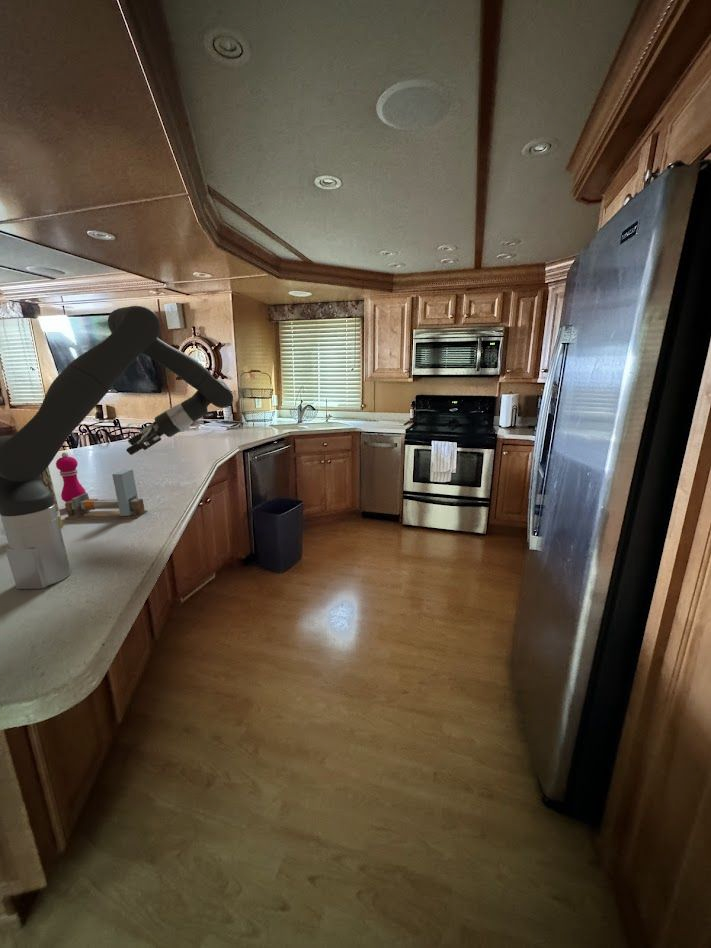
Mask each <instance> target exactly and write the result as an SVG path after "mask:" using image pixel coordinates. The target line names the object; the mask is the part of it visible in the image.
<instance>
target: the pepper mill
mask: <svg viewBox="0 0 711 948" xmlns="http://www.w3.org/2000/svg"><path fill="white" fill-rule="evenodd" d="M55 466H56V468H57V469H58V470H59V475H60V476H61V477H62V480H63V485H62V486H63V487H62V490H61V494H60V497H61V500H62V501H64V502H65V503H66V502H68V501H71V500H72V499H73V498H75V497H77V496H80V495H82V494H84V493H87V490H86V489H85V487H84V486H82V485H83V484H81V483H80V482H79V479H78V475H77V474H78V473H79V472H78V469H77V467H78V460H77V459H76V458H74V457H73V456H69V454H68V453H67V452H62V453H61V457H59V458H58V459H57V460H56V463H55ZM65 503H64V506H65V510H67V508H66V504H65Z"/></svg>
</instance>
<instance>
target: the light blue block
mask: <svg viewBox="0 0 711 948" xmlns="http://www.w3.org/2000/svg"><path fill="white" fill-rule="evenodd" d="M111 475H112V480H113V481H112V482H113V486H114V490H115V494H116V499H117V501H118V506H119V509H118V511H120V516H130V515H132V514H133V513H135V510H134V508H130V507H129V501H128V499H139V497H138V496H139V495H138V491H137V485H136V481H135V474H134V469H133V468H132V469H121V470H119V471H117V472H115V473H112V474H111Z"/></svg>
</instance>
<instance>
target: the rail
mask: <svg viewBox="0 0 711 948" xmlns="http://www.w3.org/2000/svg"><path fill="white" fill-rule="evenodd" d="M128 501H129V507H130V508H134V510H135V513H133V514H132V515H130V516H120V511H119V506H118V501H117V498H116V499H113V498H111V499H99V498H89V493H88V492H86V493H84V494H82V495H80V496H77V497H75V498H73V499H72V500H71V501H68V502H65V503H64V505H65V504H66V507H65V509H66V508H67V509H66V512H67V516H65V517H64V518H65V519H64V520H99V519H100V520H102V519H103V520H105V519H107V520H109V519H111V518H118V519H139V518H140V517H142V516H143V515H144V514H146V513H148V510H147V509H145V506H144V499H143V498H138V499H128ZM110 509H117V510H110ZM141 515H142V516H141ZM138 517H139V518H138Z"/></svg>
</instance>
